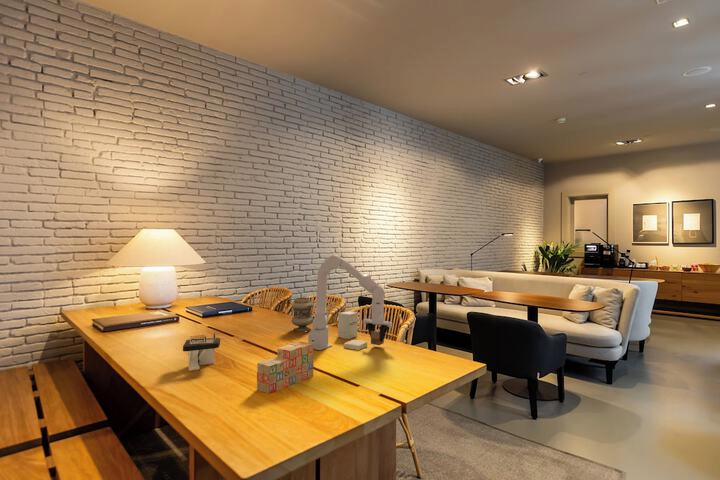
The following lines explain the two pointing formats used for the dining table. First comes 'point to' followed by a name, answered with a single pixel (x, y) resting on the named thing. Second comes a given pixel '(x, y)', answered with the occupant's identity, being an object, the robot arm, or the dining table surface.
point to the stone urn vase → (302, 313)
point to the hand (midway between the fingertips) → (377, 340)
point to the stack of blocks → (286, 367)
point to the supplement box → (347, 324)
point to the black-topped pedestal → (201, 351)
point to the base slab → (355, 344)
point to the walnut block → (376, 337)
